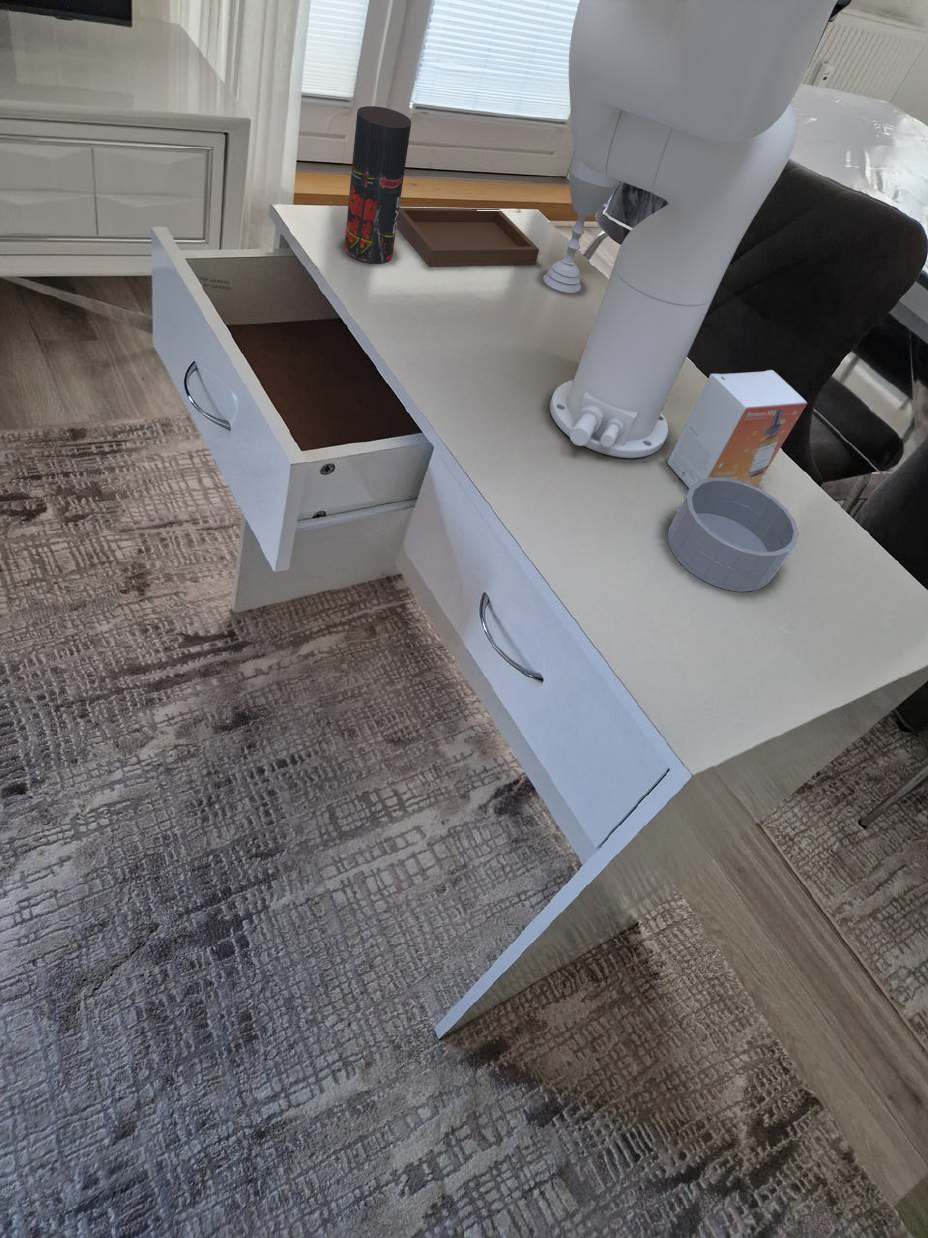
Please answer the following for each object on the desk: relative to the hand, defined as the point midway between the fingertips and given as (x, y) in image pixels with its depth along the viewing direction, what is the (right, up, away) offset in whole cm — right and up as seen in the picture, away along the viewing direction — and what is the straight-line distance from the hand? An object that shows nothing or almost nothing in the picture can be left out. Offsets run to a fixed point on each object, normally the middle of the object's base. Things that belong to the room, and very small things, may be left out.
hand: (771, 52), depth 79 cm
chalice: (-17, -12, +26) cm, 33 cm away
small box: (-5, -41, +3) cm, 41 cm away
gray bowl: (-6, -49, -5) cm, 50 cm away
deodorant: (-42, -10, +21) cm, 48 cm away
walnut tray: (-30, -6, +28) cm, 41 cm away
